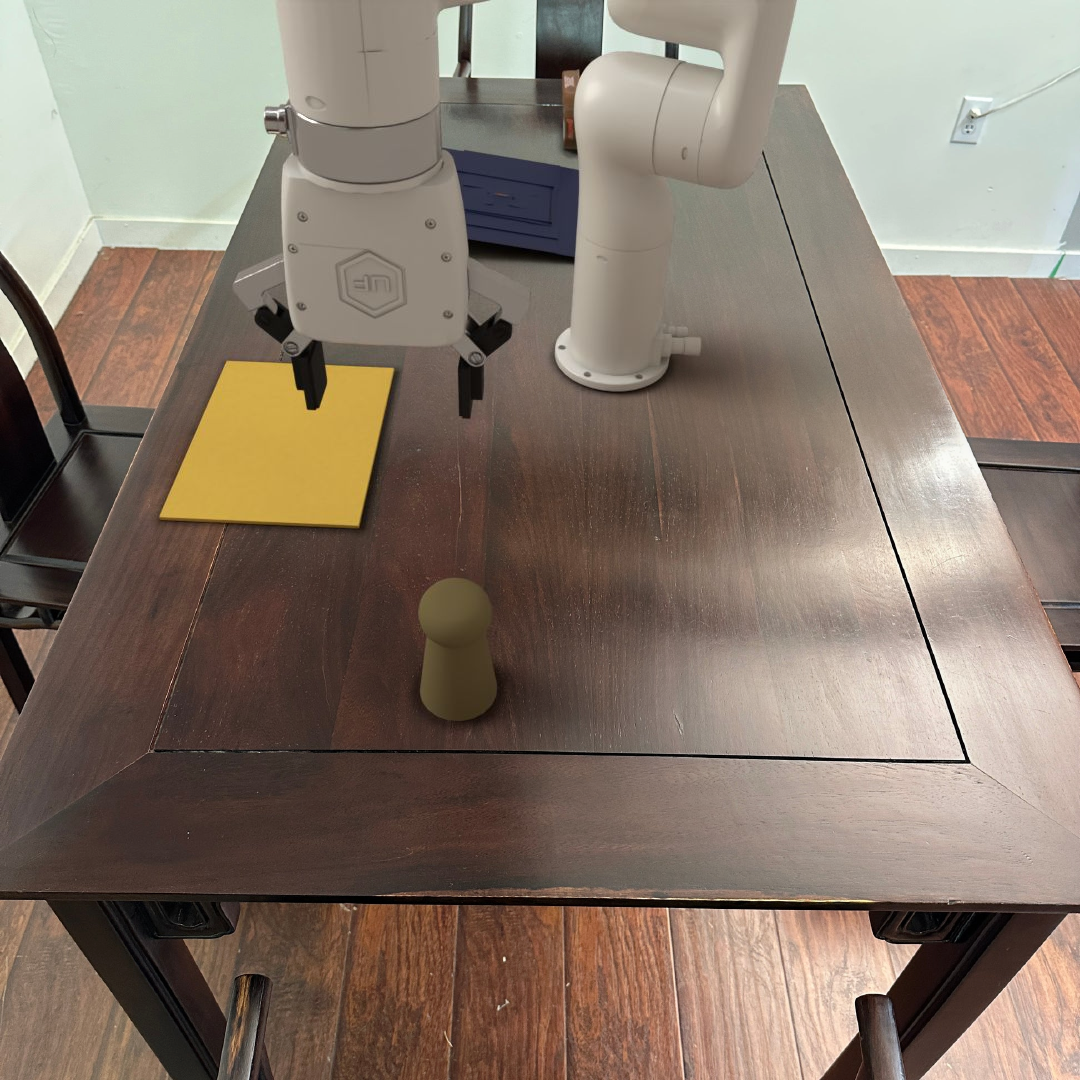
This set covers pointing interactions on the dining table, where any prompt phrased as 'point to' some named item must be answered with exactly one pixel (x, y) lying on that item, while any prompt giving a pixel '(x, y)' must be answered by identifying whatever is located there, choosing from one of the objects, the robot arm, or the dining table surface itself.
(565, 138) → the tin
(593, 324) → the robot arm
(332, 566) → the dining table surface
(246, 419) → the board
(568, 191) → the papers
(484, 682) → the tan pawn
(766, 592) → the dining table surface
